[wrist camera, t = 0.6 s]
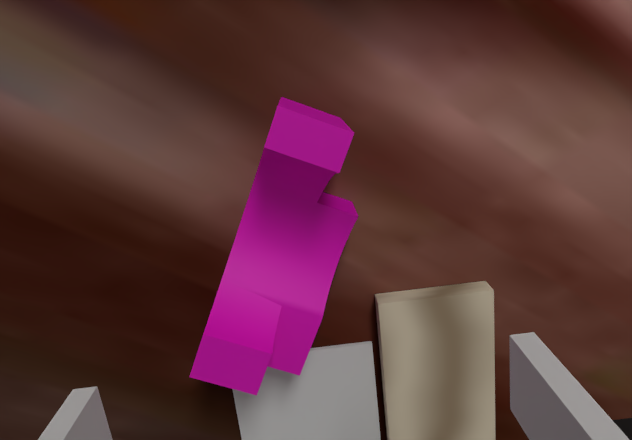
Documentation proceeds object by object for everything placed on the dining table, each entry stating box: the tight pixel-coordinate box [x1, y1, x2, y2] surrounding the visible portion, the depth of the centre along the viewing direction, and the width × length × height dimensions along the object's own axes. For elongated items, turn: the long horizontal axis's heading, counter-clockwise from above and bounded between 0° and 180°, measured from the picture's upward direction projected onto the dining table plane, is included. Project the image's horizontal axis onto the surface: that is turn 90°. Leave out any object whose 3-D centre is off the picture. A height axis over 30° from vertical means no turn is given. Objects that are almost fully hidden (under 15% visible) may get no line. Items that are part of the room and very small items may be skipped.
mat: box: [232, 341, 381, 440], centre depth 37 cm, size 10×13×1 cm
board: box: [375, 281, 495, 440], centre depth 35 cm, size 8×15×2 cm, turn 6°
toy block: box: [190, 97, 358, 395], centre depth 29 cm, size 15×6×8 cm, turn 161°
